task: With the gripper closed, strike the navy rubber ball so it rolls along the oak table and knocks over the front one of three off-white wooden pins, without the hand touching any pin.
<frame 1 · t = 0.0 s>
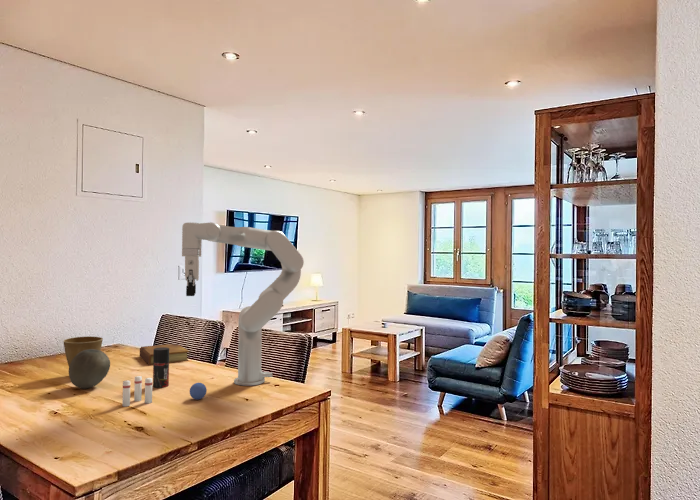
hand: (191, 295, 197), 37 cm above the table, tool pointing down, fingers open, 9 cm apart
deodorant: (160, 386, 195), on the table
front pin: (148, 402, 174), on the table
plant pot: (82, 376, 209), on the table
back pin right: (137, 400, 176), on the table
ball: (198, 391, 178), on the table
grey rock: (89, 388, 192), on the table
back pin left: (126, 405, 170), on the table
diary: (163, 360, 246), on the table
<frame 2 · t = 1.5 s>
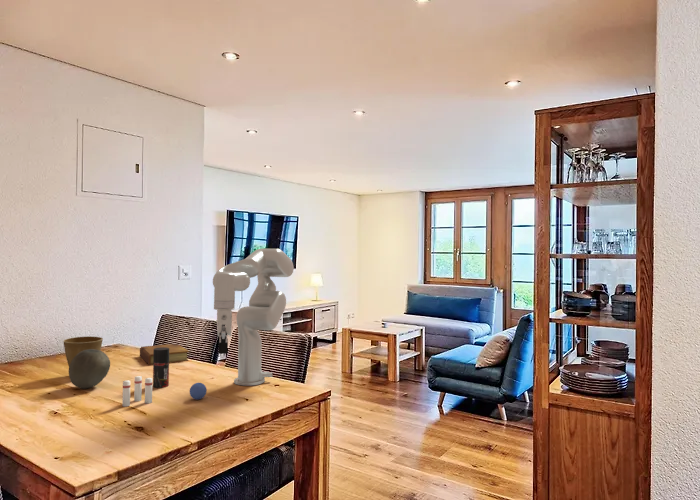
hand: (223, 351, 181), 17 cm above the table, tool pointing down, fingers open, 9 cm apart
nothing on the table moved.
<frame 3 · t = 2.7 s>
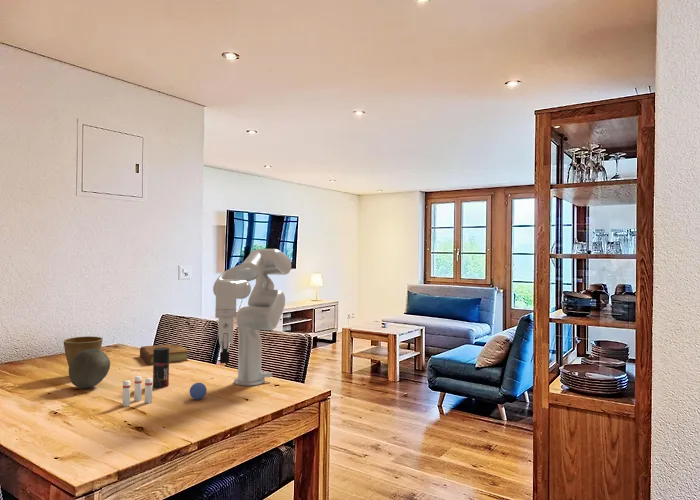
hand: (224, 362, 181), 13 cm above the table, tool pointing down, fingers closed
nothing on the table moved.
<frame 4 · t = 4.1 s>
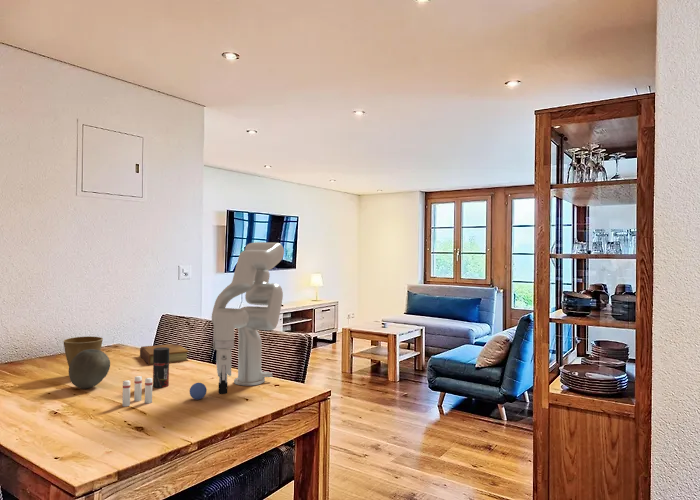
hand: (222, 393, 181), 2 cm above the table, tool pointing down, fingers closed
nothing on the table moved.
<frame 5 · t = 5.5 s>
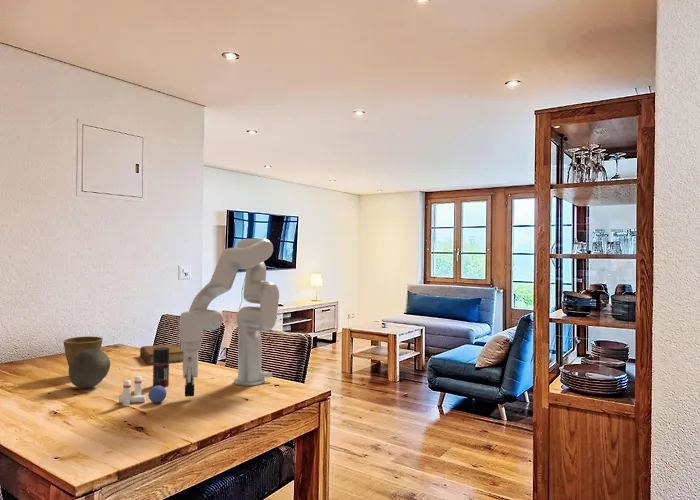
hand: (189, 395, 178), 2 cm above the table, tool pointing down, fingers closed
front pin: (144, 398, 174), point 1 cm above the table, tilted 90°
ball: (157, 394, 174), on the table
everything else where it was.
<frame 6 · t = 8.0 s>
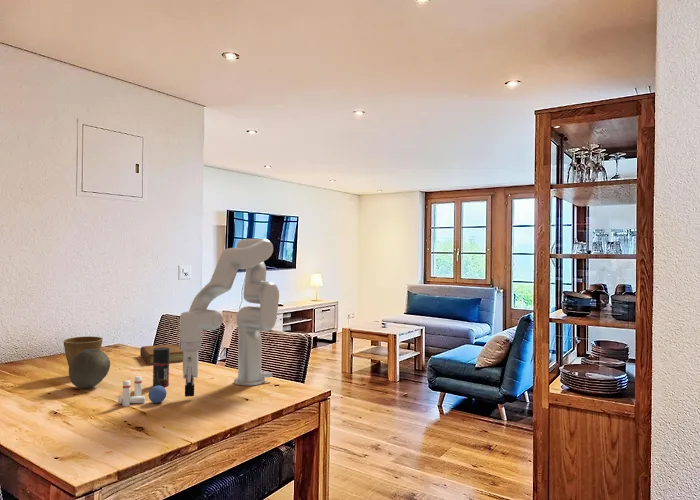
hand: (189, 395, 178), 2 cm above the table, tool pointing down, fingers closed
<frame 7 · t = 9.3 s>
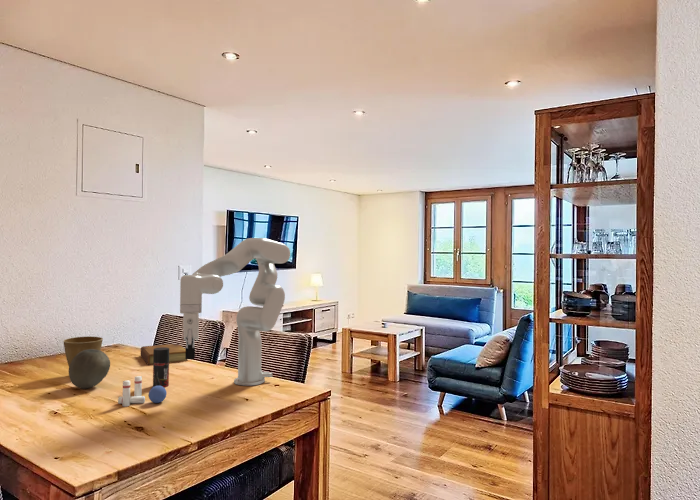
hand: (190, 358, 178), 15 cm above the table, tool pointing down, fingers closed
nothing on the table moved.
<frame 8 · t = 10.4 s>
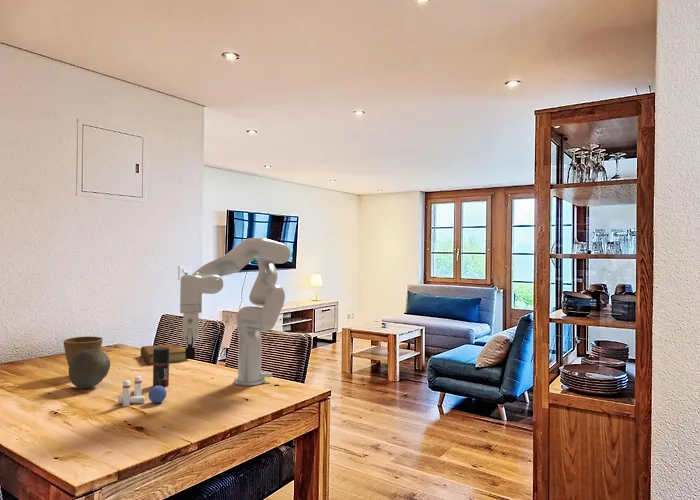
hand: (190, 358, 178), 15 cm above the table, tool pointing down, fingers closed
nothing on the table moved.
at the end: front pin tilted 90°; front pin never touched the robot; ball moved 13.9 cm from its start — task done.
